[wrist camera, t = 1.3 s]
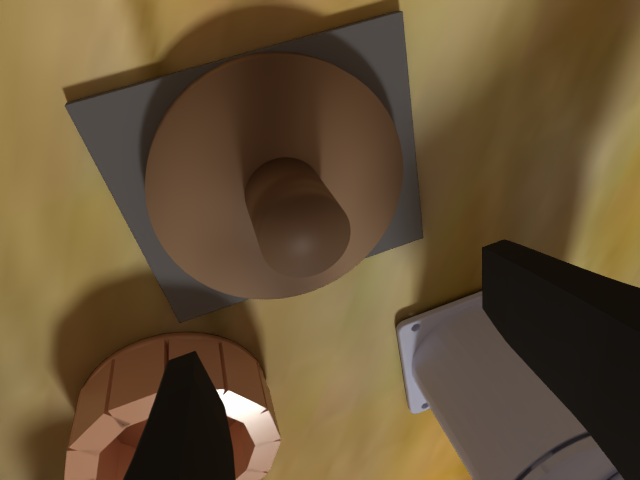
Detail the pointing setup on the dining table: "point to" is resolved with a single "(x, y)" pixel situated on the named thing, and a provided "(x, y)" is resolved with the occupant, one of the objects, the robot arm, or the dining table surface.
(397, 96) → the mat
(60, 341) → the dining table surface
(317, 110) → the lid
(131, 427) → the bowl
